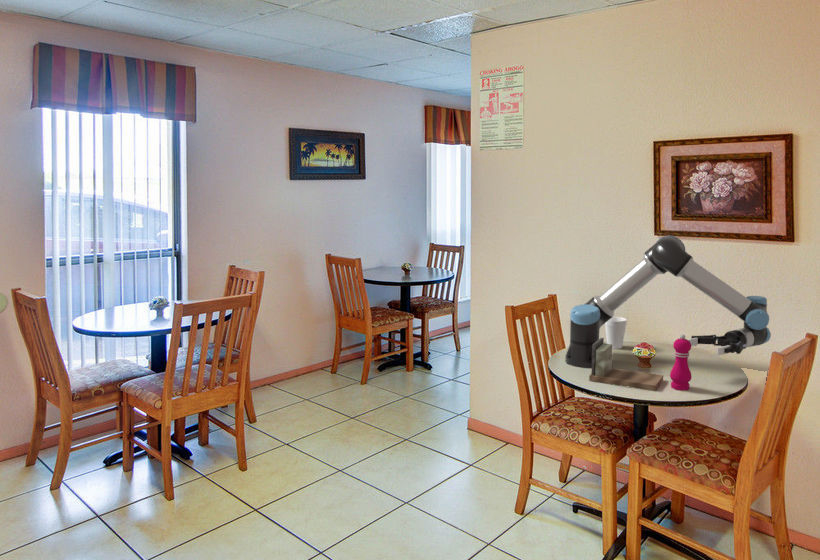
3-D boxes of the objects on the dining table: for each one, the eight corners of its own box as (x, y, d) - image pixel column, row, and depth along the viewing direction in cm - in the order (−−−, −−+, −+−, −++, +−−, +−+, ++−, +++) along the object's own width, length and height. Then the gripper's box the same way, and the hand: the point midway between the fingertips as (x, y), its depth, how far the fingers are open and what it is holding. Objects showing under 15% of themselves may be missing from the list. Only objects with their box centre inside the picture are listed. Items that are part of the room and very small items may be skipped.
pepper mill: (665, 385, 236) (668, 332, 232) (684, 384, 236) (687, 331, 233) (675, 391, 228) (678, 337, 225) (694, 390, 229) (697, 336, 226)
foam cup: (608, 343, 295) (608, 315, 293) (628, 346, 289) (629, 318, 287) (601, 348, 287) (602, 319, 285) (621, 350, 282) (622, 322, 280)
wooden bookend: (589, 380, 242) (590, 345, 240) (599, 371, 254) (600, 336, 251) (655, 391, 229) (657, 353, 227) (663, 380, 241) (664, 344, 239)
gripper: (768, 356, 234) (731, 365, 224) (708, 342, 256) (672, 350, 246) (769, 336, 233) (732, 344, 223) (709, 324, 255) (673, 331, 245)
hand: (700, 347), depth 234 cm, fingers open, 13 cm apart
